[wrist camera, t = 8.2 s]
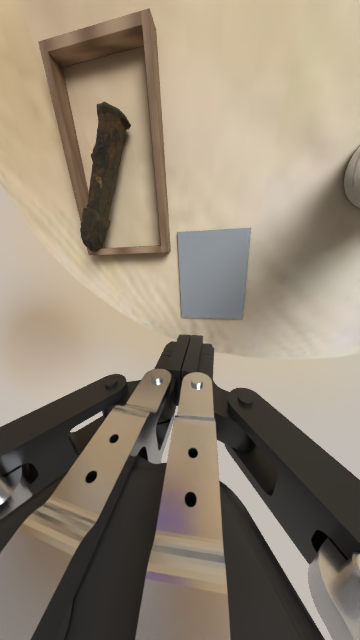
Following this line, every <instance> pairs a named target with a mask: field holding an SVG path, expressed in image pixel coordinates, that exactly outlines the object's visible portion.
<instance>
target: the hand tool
mask: <svg viewBox="0 0 360 640" xmlns="http://www.w3.org/2000/svg"><path fill="white" fill-rule="evenodd" d="M97 115H98V122H99V123H98V129H97V139H96V144H95V147H94V149H93V153H92V154H91V158H92V160H93V165H92V174H91V180H90V188H89V198H88V204H87V208H83V212H82V222H81V238H82V240H83V243H84V245H85V246H86V247H87V248H88V249H89V250H90V251H93V252H96V251H98V250H99V249H100V248H101V246H102V243H103V241H104V239H105V236H106V233H107V230H108V227H109V224H110V221H109V219H108V216H109V210H110V206H111V202H112V197H113V194H114V190H115V182H116V177H117V172H118V169H119V164H120V160H121V151H122V146H123V140H124V135H125V132H126V130H127V129H129V128H130V126H131V125H130V123H129V122H128V120H127V118H126V116H125V115H124V114H123V113H122V112H121V111H120V110H119V109H118V108H116V107H114V106H112V105H109V104H108V103H106V102H103V103H101V104H97Z"/></svg>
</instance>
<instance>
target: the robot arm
mask: <svg viewBox="0 0 360 640" xmlns="http://www.w3.org/2000/svg"><path fill="white" fill-rule="evenodd" d="M344 190H345V193H346V196H347V198H348V199H349V201H350V202H351V203H352V204H354V205H355V206H357V207H359V208H360V146H359V148H358V149H357V150H356V152H355V153H354V154H353V156H352V158H351V160H350V162H349V164H348V166H347V169H346V172H345V177H344ZM213 360H214V348H213V347H212V345H211V344H203V336H198V335H179V337H178V339H177V342H170V343H169V344H167V345H166V346H165V348H164V351H163V352H162V354H161V356H160V358H159V361H158V363H157V365H156V367H155V369H153V370H151V371H149V372H147V373H146V374H145V375H144V377H143V378H142V380H138V381H132V382H126V378H125V377H124V376H122V375H120V374H113V375H109V376H106V377H104V378H102V379H100V380H98V381H96V382H94V383H91V384H89V385H87V386H85V387H83V388H81V389H79V390H77V391H75V392H73V393H70V394H69V395H66V396H64V397H62V398H60V399H58V400H56V401H54V402H52V403H50V404H47V405H45V406H43V407H41V408H39V409H37V410H35V411H33V412H31V413H29V414H27V415H25V416H22V417H20V418H19V419H16V420H14V421H12V422H10V423H8V424H6V425H4V426H2V427H0V640H325V639H324V638H323V636H322V634H321V633H320V631H319V629H318V628H317V626H316V625H315V623H314V621H313V619H312V618H311V616H310V614H309V613H308V611H307V610H306V608H305V606H304V604H303V603H302V601H301V599H300V598H299V596H298V594H297V593H296V591H295V590H294V588H293V586H292V584H291V583H290V581H289V579H288V578H287V576H286V574H285V573H284V571H283V569H282V568H281V566H280V564H279V563H278V561H277V559H276V558H275V556H274V554H273V553H272V551H271V549H270V547H269V546H268V544H267V543H266V541H265V539H264V537H263V536H262V534H261V532H260V531H259V529H258V527H257V526H256V524H255V522H254V521H253V519H252V517H251V516H250V514H249V512H248V511H247V509H246V508H245V506H244V505H243V504H242V502H241V501H240V500H239V498H238V497H237V496H236V495H235V494H234V493H233V491H232V490H231V489H229V488H228V487H227V486H226V485H225V484H223V483H222V482H220V481H219V470H218V454H217V440H219V441H221V442H223V443H224V444H225V447H226V449H227V451H228V452H229V453H230V455H231V456H232V458H233V459H234V461H235V462H236V463H237V464H238V466H239V467H240V469H241V470H242V472H243V473H244V474H245V476H246V477H247V478H248V480H249V481H250V483H251V484H252V485H253V487H254V488H255V490H256V491H257V492H258V494H259V495H260V497H261V498H262V499H263V501H264V502H265V504H266V505H267V506H268V507H269V509H270V510H271V512H272V513H273V515H274V516H275V518H276V519H277V520H278V522H279V523H280V524H281V526H282V527H283V528H284V530H285V531H286V533H287V534H288V536H289V537H290V538H291V540H292V541H293V543H294V544H295V545H296V547H297V548H298V550H299V551H300V552H301V554H302V555H303V556H304V558H305V559H306V561H307V562H308V563H309V570H308V582H309V587H310V592H311V595H312V598H313V601H314V604H315V606H316V608H317V610H318V613H319V614H320V616H321V618H322V620H323V622H324V623H325V625H326V627H327V629H328V631H329V633H330V635H331V637H332V639H333V640H360V480H359V479H358V478H356V477H355V476H354V475H353V474H352V473H351V472H349V471H348V470H347V469H346V468H345V467H344V466H342V465H341V464H340V463H339V462H338V461H336V460H335V459H334V458H333V457H332V456H330V455H329V454H328V453H327V452H326V451H325V450H323V449H322V448H321V447H320V446H319V445H317V444H316V443H315V442H314V441H313V440H312V439H310V438H309V437H308V436H307V435H306V434H304V433H303V432H302V431H301V430H300V429H299V428H297V427H296V426H295V425H294V424H293V423H291V422H290V421H289V420H288V419H287V418H286V417H284V416H283V415H282V414H281V413H279V412H278V411H277V410H276V409H275V408H274V407H272V406H271V405H270V404H269V403H268V402H267V401H265V400H264V399H263V398H262V397H261V396H259V395H258V394H257V393H256V392H254V391H252V390H250V389H247V388H236V389H234V390H232V391H231V392H228V391H225V390H223V389H221V388H219V387H218V386H217V385H216V384H215V383H214V381H213ZM176 406H179V407H178V413H177V416H175V418H174V413H175V409H176ZM101 411H102V413H103V416H102V417H100V418H98V419H96V420H95V421H93V422H91V423H90V424H88V425H86V426H85V427H83V428H81V429H80V430H78V431H76V432H72V433H71V432H70V431H71V429H72V428H74V427H75V426H76V425H78V424H80V423H82V422H83V421H85V420H87V419H89V418H90V417H92V416H94V415H95V414H97V413H99V412H101ZM173 421H174V423H173ZM172 424H173V429H172V435H171V442H170V447H169V454H168V461H167V463H161V458H162V454H163V451H164V448H165V445H166V442H167V439H168V436H169V433H170V430H171V427H172Z"/></svg>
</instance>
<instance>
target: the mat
mask: <svg viewBox="0 0 360 640" xmlns="http://www.w3.org/2000/svg"><path fill="white" fill-rule="evenodd" d="M177 234H178V254H179V274H180V293H181V313H182V318H208V319H242V318H243V308H244V297H245V287H246V276H247V265H248V255H249V244H250V234H251V228H241V229H224V230H208V231H191V232H177Z"/></svg>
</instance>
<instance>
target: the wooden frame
mask: <svg viewBox="0 0 360 640" xmlns="http://www.w3.org/2000/svg"><path fill="white" fill-rule="evenodd" d="M141 46H144V51H145V63H146V74H147V86H148V98H149V110H150V121H151V133H152V145H153V157H154V168H155V180H156V192H157V204H158V216H159V227H160V239H161V246H140V247H119V248H100V249H99V250H98V251H96V252H93V251H90V250H89V249H88V248H87V250H88V254H89V255H108V254H134V253H159V252H169V251H171V248H170V233H169V218H168V203H167V188H166V172H165V157H164V142H163V127H162V112H161V97H160V82H159V67H158V52H157V36H156V28H155V25H154V22H153V18H152V15H151V12H150V9H146V10H142V11H139V12H136V13H133V14H129V15H126V16H123V17H119V18H116V19H113V20H109V21H106V22H103V23H99V24H96V25H93V26H89V27H86V28H83V29H79V30H76V31H73V32H69V33H66V34H63V35H59V36H56V37H53V38H50V39H46V40H43V41H40V42H39V47H40V51H41V55H42V59H43V64H44V68H45V72H46V76H47V80H48V85H49V89H50V93H51V97H52V102H53V106H54V110H55V114H56V119H57V123H58V127H59V131H60V135H61V140H62V144H63V148H64V152H65V157H66V161H67V165H68V169H69V174H70V178H71V182H72V186H73V190H74V195H75V199H76V203H77V207H78V212H79V216H80V220H81V222H82V212H83V208H87V204H88V198H89V193H88V188H87V183H86V179H85V174H84V169H83V164H82V160H81V155H80V150H79V145H78V141H77V136H76V131H75V126H74V121H73V117H72V112H71V107H70V102H69V98H68V93H67V88H66V83H65V79H64V74H63V69H62V67H64V66H68V65H72V64H76V63H80V62H83V61H87V60H91V59H95V58H99V57H103V56H106V55H110V54H114V53H118V52H122V51H125V50H129V49H133V48H137V47H141Z"/></svg>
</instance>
